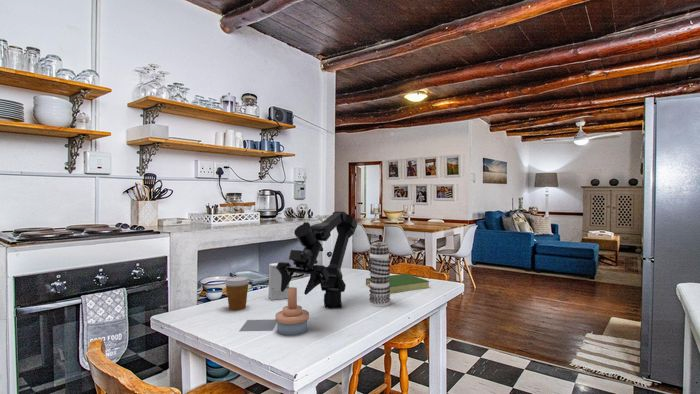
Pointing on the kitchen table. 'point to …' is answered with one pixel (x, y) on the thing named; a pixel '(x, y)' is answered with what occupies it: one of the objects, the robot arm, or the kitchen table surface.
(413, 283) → the hardcover book
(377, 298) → the white patterned cylinder
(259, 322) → the mat
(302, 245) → the robot arm
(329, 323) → the kitchen table surface
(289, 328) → the ramekin
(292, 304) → the lid
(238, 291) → the disposable coffee cup
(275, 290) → the skincare box
